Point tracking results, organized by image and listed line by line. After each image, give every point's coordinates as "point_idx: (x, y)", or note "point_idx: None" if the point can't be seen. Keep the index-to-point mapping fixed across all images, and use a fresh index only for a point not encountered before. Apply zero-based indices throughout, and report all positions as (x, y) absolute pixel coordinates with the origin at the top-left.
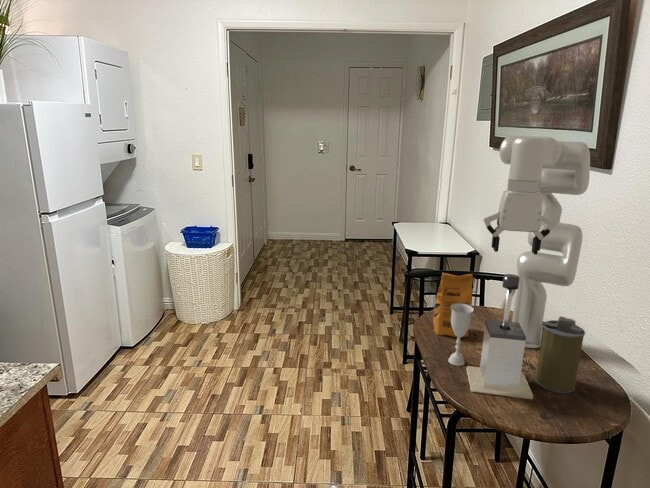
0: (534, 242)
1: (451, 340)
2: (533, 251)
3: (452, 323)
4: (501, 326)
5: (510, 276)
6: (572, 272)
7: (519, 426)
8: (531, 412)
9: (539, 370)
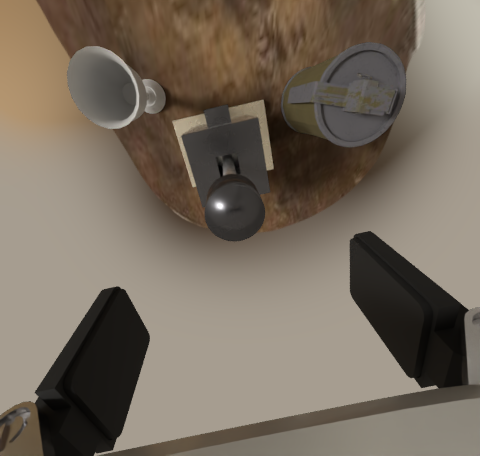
0: (394, 328)
1: None
2: (355, 284)
3: (106, 111)
4: (220, 155)
5: (230, 217)
6: None
7: None
8: (268, 198)
9: (289, 115)
